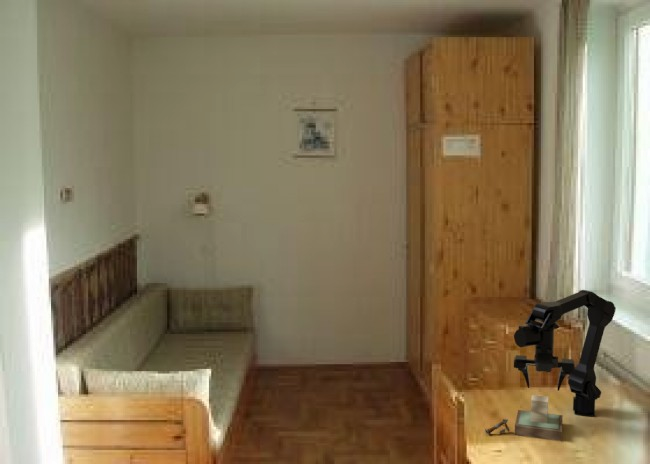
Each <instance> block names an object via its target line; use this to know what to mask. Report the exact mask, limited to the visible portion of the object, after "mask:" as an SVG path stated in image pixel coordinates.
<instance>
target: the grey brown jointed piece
mask: <svg viewBox="0 0 650 464" xmlns="http://www.w3.org/2000/svg"><path fill="white" fill-rule="evenodd" d="M508 421H509V419H508V418H503V419H502V420H501V421H500V422H497V423H496V424H495V425H493V426H492V427H490V428H488V429H487V428H484V431H485V434H487V435H488V436H491V435H490V434H491V433H492V432H494V431H496V430H498V429H499V428H501V427H502V426H503V427H505V428H501V429H499V432H498V434H503V433H506V432H505V431H507V432H508V433H509V432H510V431H511V430H510V427H509V426H508V424H507V423H508Z"/></svg>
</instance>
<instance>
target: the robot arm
mask: <svg viewBox="0 0 650 464" xmlns="http://www.w3.org/2000/svg"><path fill="white" fill-rule="evenodd" d="M582 307H585V308H586V309H587V310H586V311H587V312H586V315H587V320H588V323H589V324H588V328H587V332H586V335H585V337H584V338H585V339H584V342H583V346H582V350H581V353H580V357H579V361H578V364H576V365H575V360H574V359H572V358H561V361H559V356H554V341H555V330H556V329H559V328H560V326H559V324H557V323H556V322H558V321H559V320H560V319H562V316H564V315H565V314H567V313H569V312H572V311H575V310H577V309H579V308H582ZM616 309H617V308H616V306H615V304H614V302H613V301H610V300H607V299H605V298H603V297H601V296H599V295H598V294H597V293H595V292H594V291H592V290H591V291H590V290H586V289H582V290H581V289H580V290H579V291H578V292H575V293H573V294H571V295H568V296H566V297H563V298H560V299H558V300H556V301H544V302H539V303H536V304H535V305H534V306H533V309H532V310H531V313H530V314H529V316H528V318H527V319H526V321H525V324H524V325H519V326H518V329H516V331H515V332H514V334H513V340H514V342H515V344H516V346H517V347H518V348H526V347H533V346H534V359H531V358H530V359H529V358H528V356H527V355H522V354H521V355H518V354H516V355H515V356H514V359H513V368H514V369H517V370H518V371H519V372H521V373H522V375H523V377H524V379H525V383H526V385H527V388H528V389H530V385H531V384H530V375H529V366H532V367H533V366H535V371H536V372H546V373H552V369H555V368H556V369H559V374H558V380H557V391H560V389H561V386H562V384H563V381H564V379H565V377H566V376H567V378H566V379H567V385H568V386H569V389H570V392H571V393H574V394H575V395H574V396H573V400H572V410H573V413H574V415H579V416H586V417H595V416H596V400H598V399H600V398H601V396H602V390H600V388H599V387H598V386H597V385H596V383H597V376H596V373H595V364H596V361H597V358H598V354H599V350H600V346H601V343H602V339H603V336H604V331H605V328H606V327H607V326H608V325H609V324H610V323H611V322H612V321H613V318H614V316H615V314H616Z"/></svg>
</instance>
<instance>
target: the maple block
mask: <svg viewBox="0 0 650 464" xmlns="http://www.w3.org/2000/svg"><path fill="white" fill-rule="evenodd" d="M530 400H531V401H530V402H531V403H530V411H531V421H532V422H539V423H547V419H548V414H549V396H545V395H538V394H537V395H535V394H532V395H531V399H530Z"/></svg>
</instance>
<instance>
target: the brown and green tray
mask: <svg viewBox="0 0 650 464" xmlns="http://www.w3.org/2000/svg"><path fill="white" fill-rule="evenodd" d="M513 435H514V436H521V437H527V438H528V437H529V438H535V439H542V440H548V441H549V440H550V441H557V442H558V441H559V442H562V439H563V436H562V435H563V415H562V414H555V413H548V419H547V423H539V422H532V421H531V410H521V409H517V414H516V419H515V423H514V433H513Z"/></svg>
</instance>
